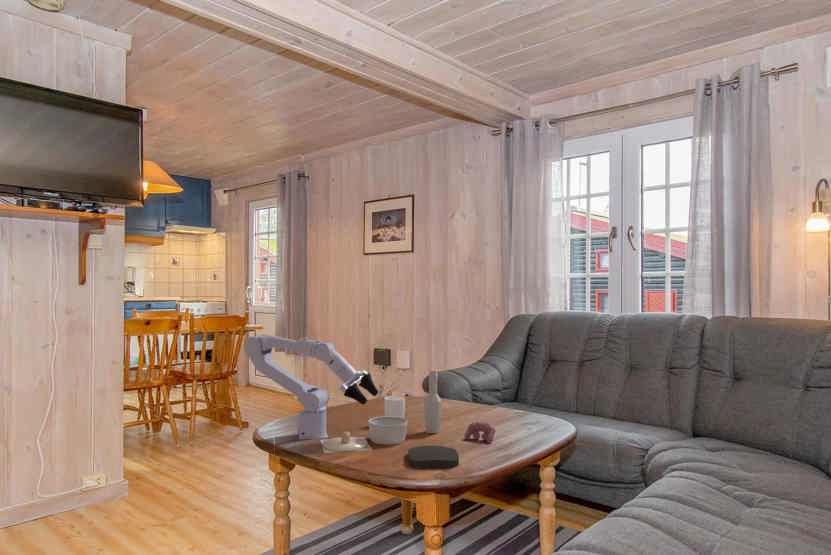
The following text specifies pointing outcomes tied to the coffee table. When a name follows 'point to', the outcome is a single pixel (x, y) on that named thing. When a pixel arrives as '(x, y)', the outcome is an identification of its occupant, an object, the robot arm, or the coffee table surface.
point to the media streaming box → (433, 457)
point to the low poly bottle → (432, 405)
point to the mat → (343, 451)
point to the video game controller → (480, 426)
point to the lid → (345, 443)
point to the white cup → (394, 406)
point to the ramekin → (387, 430)
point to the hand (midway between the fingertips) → (371, 398)
